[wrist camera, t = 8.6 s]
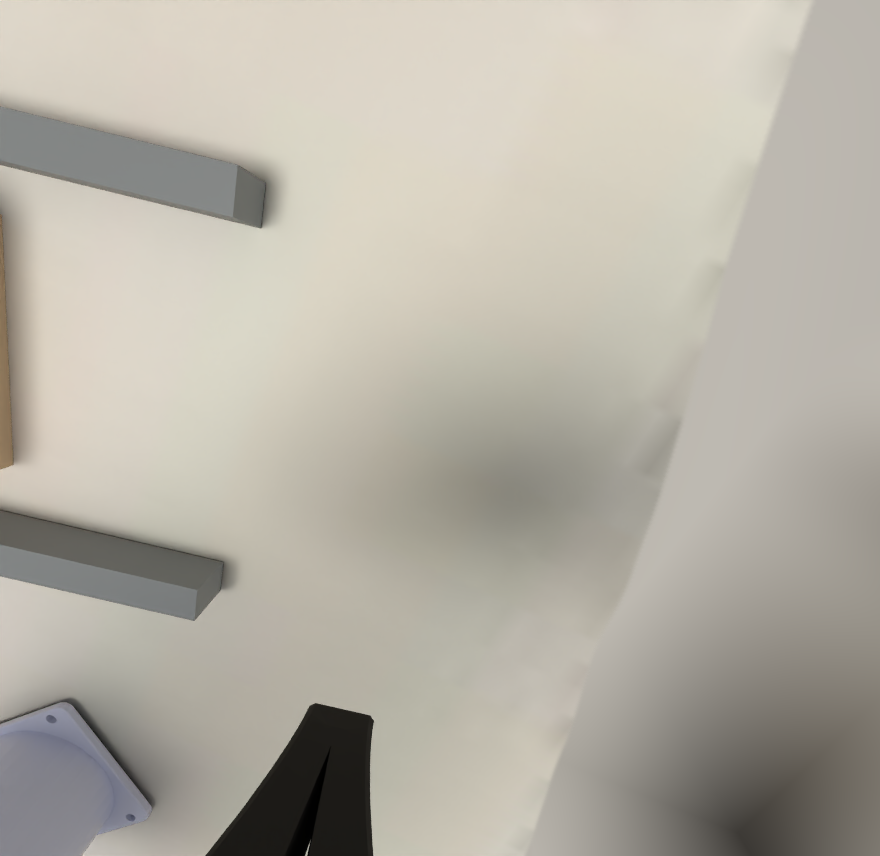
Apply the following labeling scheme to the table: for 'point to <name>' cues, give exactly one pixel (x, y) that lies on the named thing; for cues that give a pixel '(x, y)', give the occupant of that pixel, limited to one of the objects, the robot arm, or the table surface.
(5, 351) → the carton
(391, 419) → the table surface
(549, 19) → the table surface
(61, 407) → the table surface
